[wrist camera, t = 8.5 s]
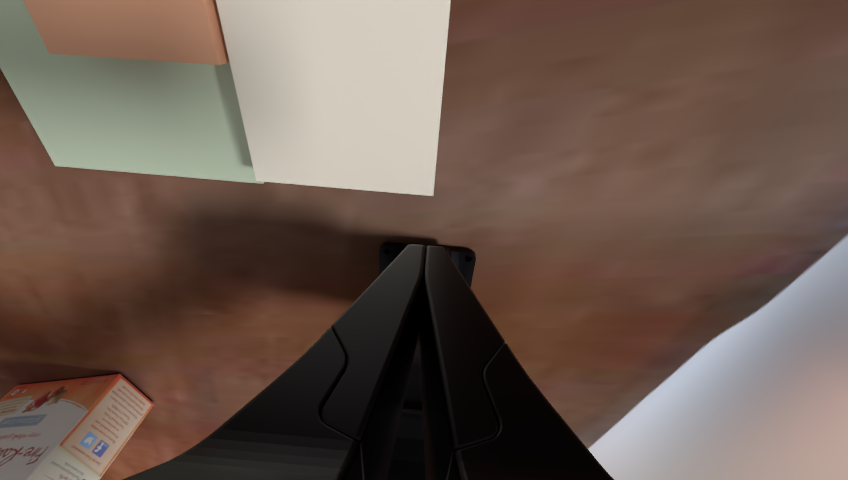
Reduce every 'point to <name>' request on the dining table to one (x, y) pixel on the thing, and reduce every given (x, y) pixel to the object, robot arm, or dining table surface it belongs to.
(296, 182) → the deck
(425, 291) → the robot arm
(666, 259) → the dining table surface
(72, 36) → the tile
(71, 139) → the mat
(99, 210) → the dining table surface
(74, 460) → the cracker box
